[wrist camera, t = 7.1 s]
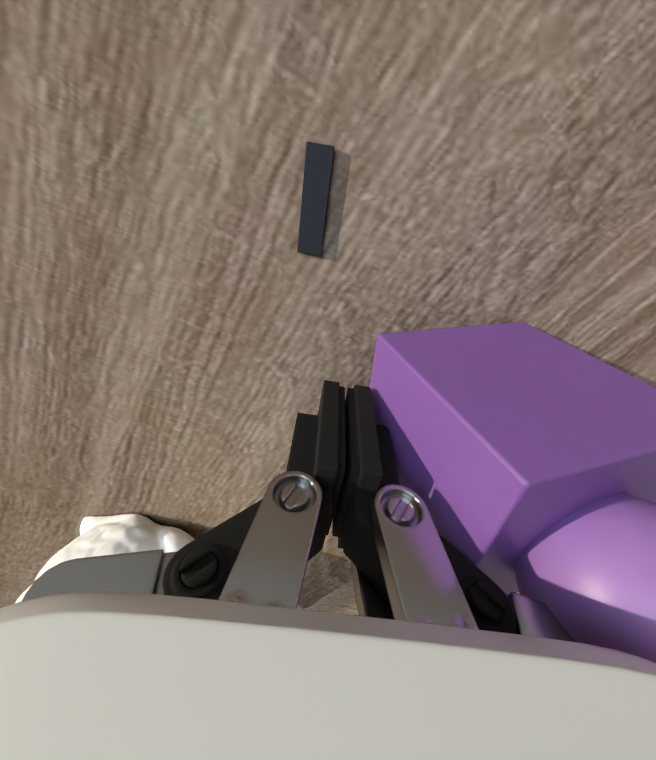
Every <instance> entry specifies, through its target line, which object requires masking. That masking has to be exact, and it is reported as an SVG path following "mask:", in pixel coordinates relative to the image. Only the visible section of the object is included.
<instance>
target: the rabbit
mask: <svg viewBox="0 0 656 760" xmlns="http://www.w3.org/2000/svg"><path fill="white" fill-rule="evenodd" d="M80 535H81V536H79V537H77V538H76V539H75V540H73V541H72V542H71V543H69V544H68V545H67V546H65V547H64V548H63V549H61V550H60V551H59V552H57V553H56V554H55V555H54V556H53V557H52V558H51V559H50V560H49V561H48V562H47V563H46V565H45V566H44V567H43V568H42V569H41V571H40V572H39V573H38V575H37V577H36V579H38V578H39V577H40V576H41V575H42V574H43V573H45V572H46V571H47V570H48V569H50V568H52V567H54V566H56V565H58V564H59V563H61V562H65V561H68V560H72V559H77V558H86V557H95V556H104V555H113V554H122V553H132V552H141V551H150V550H159V549H163V550H164V553H168V552H176V551H179V550H180V549H181V548H182V547H184V546H185V545H186V544H188V543H190V542H191V541H193V540H195V539H194V538H193V537H192V536H190V535H189V534H188V533H186V532H184V531H183V530H181V529H179V528H175V527H170V526H162V525H159V524H157V523H155V522H153V521H152V520H150V519H149V518H147V517H144V516H142V515H139V514H122V515H114V516H99V517H95V516H89V517H85V518H84V519H83V520H82V522H81V525H80ZM36 579H35V580H36ZM31 586H32V585H31ZM31 586H30V587H31ZM30 587H29V588H30ZM29 588H28V589H27V590H26V591H24V592H23V593H22V595H21V596H20V597H19V598H18V599H17V601H16V602H15V603H18V602H21V601H22V599H23V598H24V596H25V594H26V592H27V591H28V590H29ZM15 603H14V604H15Z"/></svg>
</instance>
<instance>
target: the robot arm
mask: <svg viewBox="0 0 656 760" xmlns="http://www.w3.org/2000/svg"><path fill="white" fill-rule="evenodd" d="M332 519H333V527H332V534H333V536H337V537H338V548H343V552H344V553H345V555H346V556H347V557H348V558H349V559H350V560H351V572H352V578H353V584H354V590H355V596H356V602H357V609H358V615H359V616H357V615H348V614H339V613H330V612H322V611H313V610H304V609H297V605H298V600H299V596H300V592H301V588H302V584H303V580H304V575H305V571H306V567H307V563H308V561H309V560H310V559H311V558H312V557H314V556H315V555H316V554H317V553H318V552H320V551H321V550H322V548H323V544H324V540H325V536H326V535H328V533H329V530H330V526H331V522H332ZM0 760H656V663H655V662H652V661H649V660H647V659H644V658H642V657H639V656H635V655H632V654H629V653H625V652H622V651H618V650H615V649H610V648H604V647H599V646H594V645H589V644H584V643H577V642H576V641H575V640H574V639H573V638H572V637H571V636H570V635H569V634H568V632H567V631H566V630H565V629H564V627H563V626H562V625H561V624H560V622H559V621H558V620H557V619H556V617H555V616H554V615H553V613H552V612H551V610H550V609H549V608H548V606H547V605H546V604H545V603H543V602H540V601H537V600H534V599H532V598H529V597H526V596H523V595H521V594H518V593H515V592H511V593H510V594H506V593H504V591H503V590H502V589H501V588H500V587H499V586H498V585H497V584H496V583H495V582H494V581H493V580H491V579H490V578H489V577H488V576H487V575H486V574H485V573H483V572H482V571H481V570H480V569H479V568H478V567H477V566H475V565H474V564H473V563H472V562H471V561H470V560H469V559H467V558H466V557H465V556H464V555H463V554H462V553H461V552H459V551H458V550H457V549H456V548H455V547H454V546H452V545H451V544H450V543H449V542H448V541H447V540H446V539H444V538H443V537H442V536H441V535H440V534H439V533H438V532H437V530H436V527H435V525H434V523H433V520H432V518H431V516H430V513H429V511H428V509H427V506H426V505H425V503H424V501H423V500H422V499H421V498H420V497H419V495H418V494H417V493H415V492H414V491H412V490H411V489H409V488H407V487H404V486H402V485H400V483H399V478H398V473H397V468H396V463H395V458H394V453H393V448H392V443H391V438H390V433H389V429H388V428H387V427H386V426H384V425H378V424H376V422H375V415H374V408H373V401H372V395H371V388H370V387H366V386H359V385H355V386H354V388H348V391H347V395H346V400H345V388H344V387H340V386H339V382H333V381H327V380H324V384H323V389H322V395H321V400H320V406H319V412H318V416H317V415H310V414H303V413H298V414H297V419H296V424H295V430H294V435H293V440H292V445H291V450H290V455H289V460H288V465H287V471H286V472H284V473H282V474H279V475H278V476H276V477H275V478H274V479H273V480H272V481H271V483H270V484H269V486H268V488H267V490H266V493H265V495H264V497H263V499H262V500H260V501H258V502H257V503H255V504H253V505H252V506H250V507H248V508H247V509H245V510H243V511H242V512H240V513H238V514H237V515H235V516H233V517H232V518H230V519H228V520H227V521H225V522H223V523H222V524H220V525H218V526H217V527H215V528H213V529H212V530H210V531H208V532H207V533H205V534H203V535H202V536H200V537H198V538H196V539H195V540H193V541H191V542H190V543H188V544H186V545H185V546H184V547H182V548H181V549H180V550H179V551H176V552H168V553H164V550H163V549H159V550H150V551H141V552H132V553H122V554H113V555H104V556H95V557H86V558H77V559H72V560H68V561H65V562H61V563H59V564H58V565H56V566H54V567H52V568H50V569H48V570H47V571H46V572H45V573H43V574H42V575H41V576H40V577H39V578H38V579H36V580H35V582H34V583H33V584H32V586H31V587H30V588H29V590H28V591H27V592H26V594H25V596H24V598H23V599H22V601H21V602H18V603H15V604H12V605H8V606H5V607H2V608H0Z"/></svg>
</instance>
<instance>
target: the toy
mask: <svg viewBox="0 0 656 760" xmlns="http://www.w3.org/2000/svg"><path fill="white" fill-rule="evenodd" d="M369 387H370V388H371V395H372V401H373V408H374V415H375V422H376V424H378V425H384V426H386V427H387V428H388V429H389V433H390V438H391V443H392V448H393V453H394V458H395V463H396V468H397V473H398V478H399V483H400V485H402V486H404V487H407V488H409V489H411V490H412V491H414V492H415V493H417V494H418V495H419V497H420V498H421V499H422V500H423V501H424V503H425V505H426V506H427V509H428V511H429V513H430V516H431V518H432V520H433V523H434V525H435V527H436V530H437V532H438V533H439V534H440V535H441V536H442V537H443V538H444V539H446V540H447V541H448V542H449V543H450V544H451V545H452V546H454V547H455V548H456V549H457V550H458V551H459V552H461V553H462V554H463V555H464V556H465V557H466V558H467V559H469V560H470V561H471V562H472V563H473V564H474V565H475V566H477V567H478V568H479V569H480V570H481V571H482V572H483V573H485V574H486V575H487V576H488V577H489V578H490V579H491V580H493V581H494V582H495V583H496V584H497V585H498V586H499V587H500V588H501V589H502V590H503V591H504V593H506V594H510V593H511V592H515V593H516V592H519V593H520V594H521V595H523V596H526V597H529V598H532V599H534V600H537V601H540V602H543V603H545V604H546V605H547V606H548V608H549V609H550V610H551V612H552V613H553V615H554V616H555V617H556V619H557V620H558V621H559V622H560V624H561V625H562V626H563V627H564V629H565V630H566V631H567V632H568V634H569V635H570V636H571V637H572V638H573V639H574V640H575V641H576V642H577V643H584V644H589V645H594V646H599V647H604V648H610V649H615V650H618V651H622V652H625V653H629V654H632V655H635V656H639V657H642V658H644V659H647V660H649V661H652V662H655V663H656V504H655V503H656V388H655V387H653V386H651V385H649V384H647V383H645V382H643V381H641V380H639V379H637V378H635V377H633V376H631V375H629V374H627V373H625V372H623V371H621V370H619V369H617V368H615V367H613V366H611V365H609V364H607V363H605V362H603V361H601V360H599V359H597V358H595V357H593V356H590V355H588V354H586V353H584V352H582V351H580V350H578V349H576V348H574V347H572V346H570V345H568V344H566V343H564V342H562V341H560V340H558V339H556V338H554V337H552V336H550V335H548V334H546V333H544V332H542V331H540V330H538V329H536V328H534V327H532V326H530V325H528V324H526V323H524V322H512V323H500V324H489V325H477V326H465V327H454V328H442V329H431V330H419V331H407V332H396V333H384V334H378V336H377V342H376V348H375V354H374V360H373V367H372V373H371V379H370V385H369Z"/></svg>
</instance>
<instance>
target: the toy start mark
mask: <svg viewBox="0 0 656 760" xmlns="http://www.w3.org/2000/svg"><path fill="white" fill-rule="evenodd" d="M333 154H334V146H329V145H323V144H318V143H312V142H307V145H306V157H305V169H304V181H303V193H302V205H301V217H300V229H299V240H298V252H303V253H309V254H315V255H321V250H322V242H323V234H324V226H325V218H326V210H327V202H328V194H329V186H330V178H331V170H332V162H333Z"/></svg>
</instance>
